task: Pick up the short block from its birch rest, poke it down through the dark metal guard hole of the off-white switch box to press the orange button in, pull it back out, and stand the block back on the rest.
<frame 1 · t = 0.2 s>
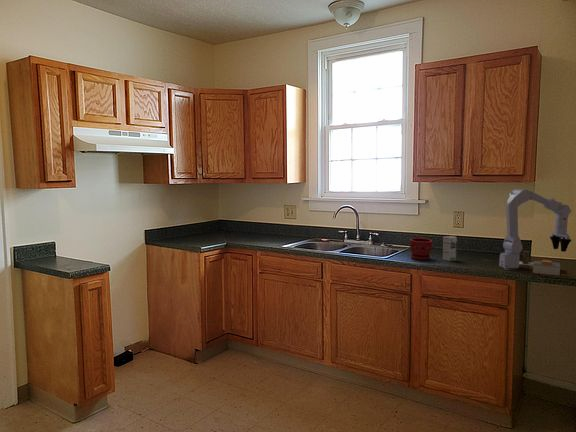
hand: (559, 250, 244), 10 cm above the worktop, tool pointing down, fingers open, 7 cm apart
block: (525, 263, 253), point 1 cm above the worktop, touching stylus rest
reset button: (546, 263, 235), point 4 cm above the worktop, slide at 0.0 cm
switch box: (546, 272, 235), on the worktop
plant pot: (420, 258, 273), on the worktop
syrup box: (449, 260, 268), on the worktop
stylus rest: (525, 265, 253), on the worktop
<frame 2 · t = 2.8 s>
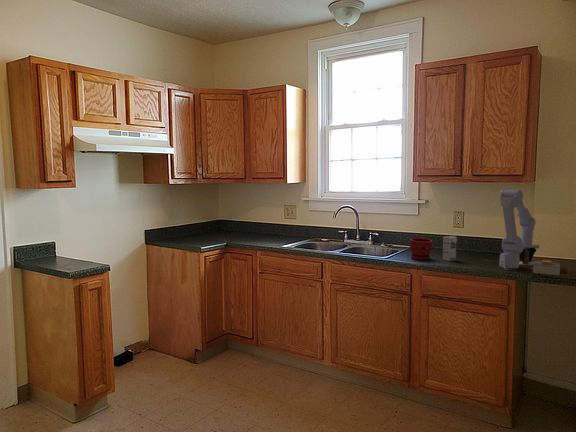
hand: (525, 260, 253), 2 cm above the worktop, tool pointing down, fingers closed on block, 4 cm apart
block: (525, 263, 253), point 1 cm above the worktop, touching gripper, stylus rest
everything else where it was.
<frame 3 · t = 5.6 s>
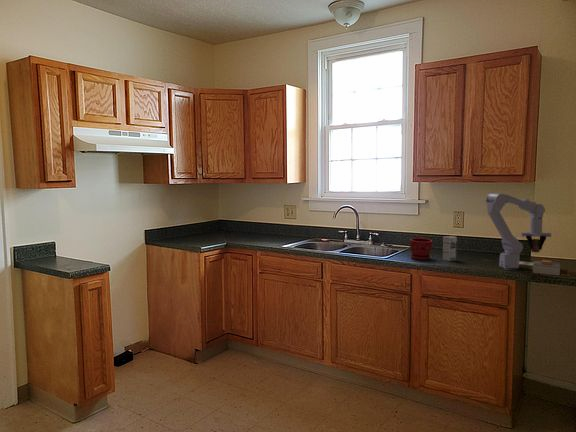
hand: (535, 249, 245), 10 cm above the worktop, tool pointing down, fingers closed on block, 4 cm apart
block: (535, 251, 245), point 9 cm above the worktop, touching gripper
everything else where it was.
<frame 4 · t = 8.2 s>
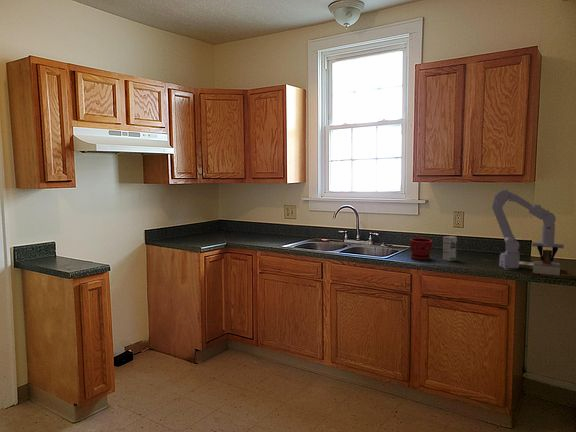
hand: (546, 260, 234), 6 cm above the worktop, tool pointing down, fingers closed on block, 4 cm apart
block: (546, 263, 235), point 5 cm above the worktop, touching gripper, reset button
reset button: (546, 266, 235), point 3 cm above the worktop, slide at 1.2 cm, touching block
everything else where it was.
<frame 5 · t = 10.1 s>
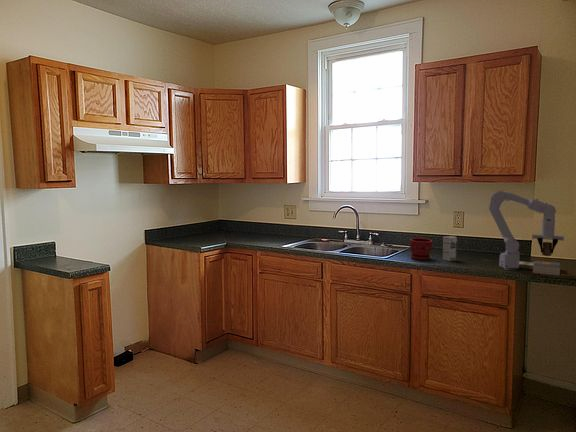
hand: (546, 252, 234), 10 cm above the worktop, tool pointing down, fingers closed on block, 4 cm apart
block: (546, 255, 235), point 9 cm above the worktop, touching gripper
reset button: (546, 266, 235), point 3 cm above the worktop, slide at 1.3 cm
everything else where it was.
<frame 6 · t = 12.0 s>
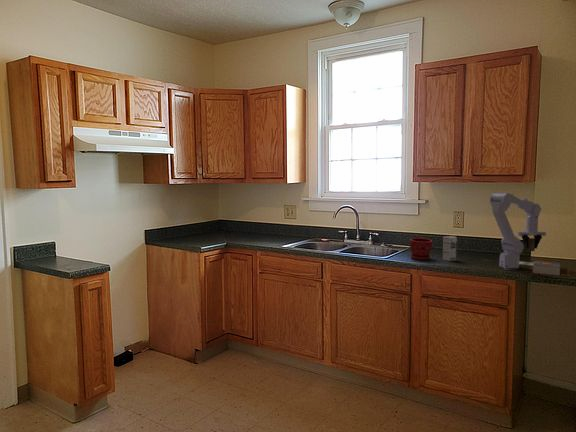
hand: (531, 248, 248), 10 cm above the worktop, tool pointing down, fingers closed on block, 4 cm apart
block: (531, 250, 249), point 9 cm above the worktop, touching gripper
everything else where it was.
when the fingers open (3 cm above the worktop, at t = 15.3 s): block stays where it is, resting on stylus rest.
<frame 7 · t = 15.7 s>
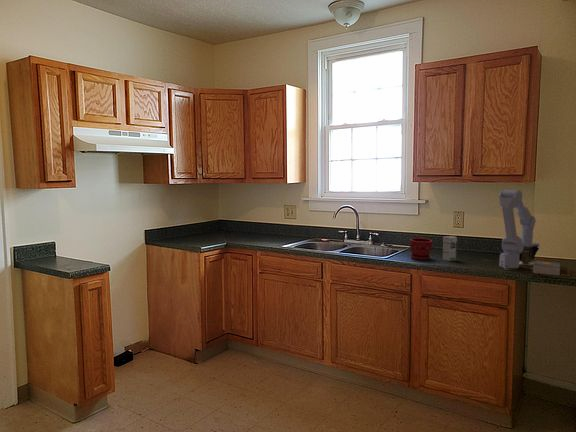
hand: (525, 259, 253), 3 cm above the worktop, tool pointing down, fingers open, 7 cm apart
block: (525, 263, 253), point 1 cm above the worktop, touching stylus rest
everything else where it was.
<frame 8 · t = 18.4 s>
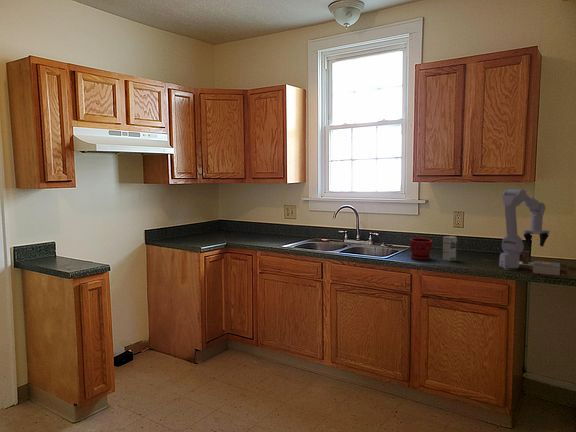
hand: (535, 246, 255), 10 cm above the worktop, tool pointing down, fingers open, 7 cm apart
nothing on the worktop moved.
at the end: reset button slide at 1.3 cm; block 0.1 cm off-centre on the stylus rest, point 1.0 cm above the stylus rest's base; block tilted 0° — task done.
